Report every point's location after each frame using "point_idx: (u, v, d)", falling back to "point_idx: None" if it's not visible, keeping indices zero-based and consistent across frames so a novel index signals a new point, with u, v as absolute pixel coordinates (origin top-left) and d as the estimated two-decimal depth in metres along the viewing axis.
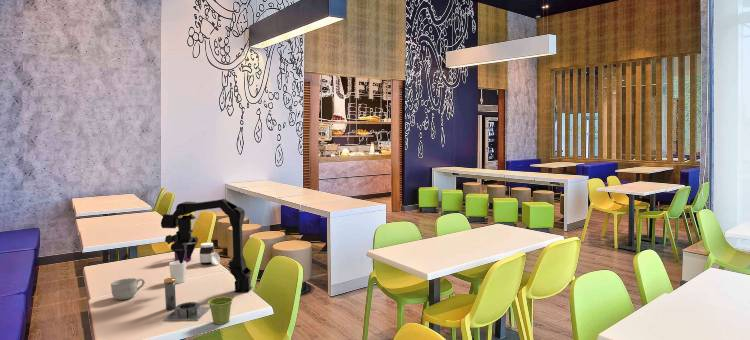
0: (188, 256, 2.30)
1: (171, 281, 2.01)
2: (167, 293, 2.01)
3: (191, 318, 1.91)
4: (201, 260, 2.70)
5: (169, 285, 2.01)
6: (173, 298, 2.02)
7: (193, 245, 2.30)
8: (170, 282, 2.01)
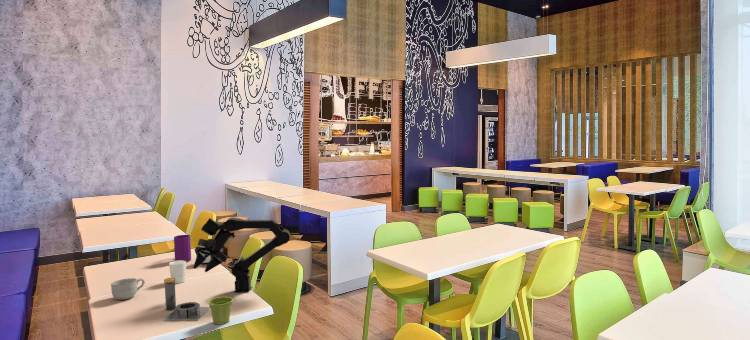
0: (195, 266, 2.17)
1: (171, 281, 2.01)
2: (167, 293, 2.01)
3: (191, 318, 1.91)
4: None
5: (169, 285, 2.01)
6: (173, 298, 2.02)
7: (205, 258, 2.22)
8: (170, 282, 2.01)
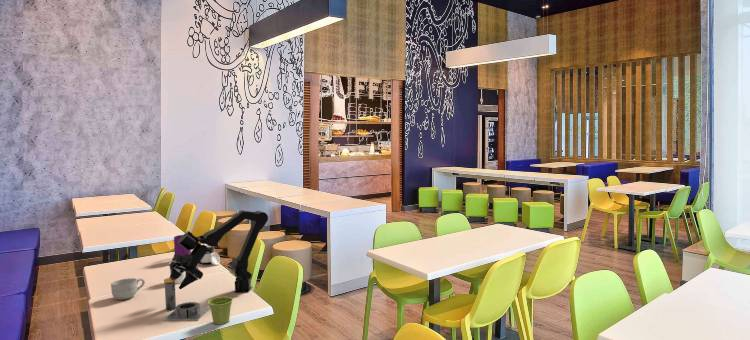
0: None
1: (171, 281, 2.01)
2: (167, 293, 2.01)
3: (191, 318, 1.91)
4: (201, 260, 2.70)
5: (169, 285, 2.01)
6: (173, 298, 2.02)
7: (180, 274, 2.12)
8: (170, 282, 2.01)
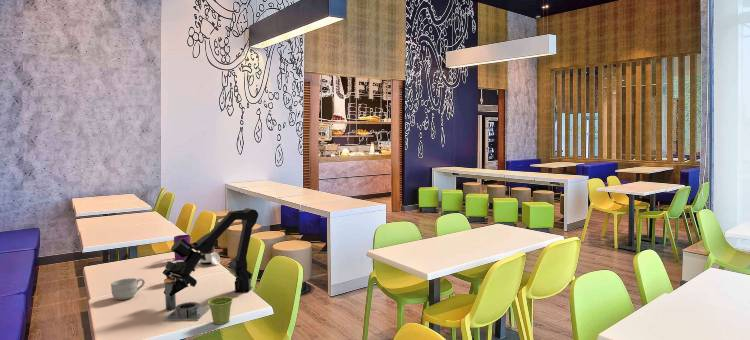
0: None
1: (171, 281, 2.01)
2: (167, 293, 2.01)
3: (191, 318, 1.91)
4: (201, 260, 2.70)
5: (169, 285, 2.01)
6: (173, 298, 2.02)
7: None
8: (170, 282, 2.01)
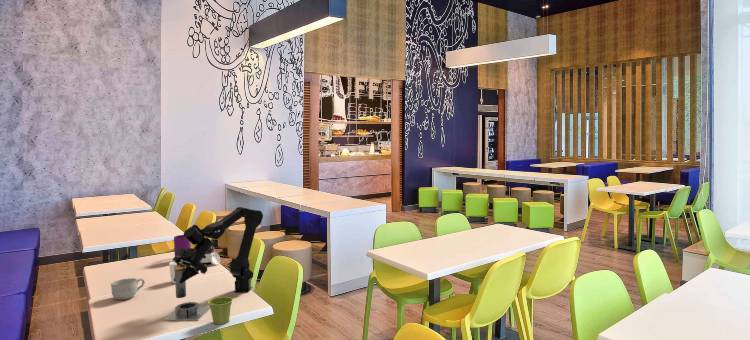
0: None
1: (181, 268, 1.96)
2: (177, 280, 1.96)
3: (191, 318, 1.91)
4: (201, 260, 2.70)
5: (179, 272, 1.96)
6: (183, 285, 1.97)
7: None
8: (180, 269, 1.96)
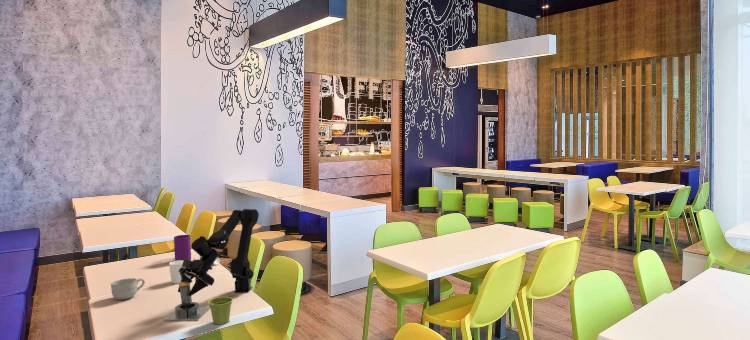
0: None
1: (186, 284, 1.94)
2: (183, 297, 1.94)
3: (191, 318, 1.91)
4: None
5: (184, 289, 1.94)
6: (189, 301, 1.95)
7: (190, 281, 2.02)
8: (185, 285, 1.94)
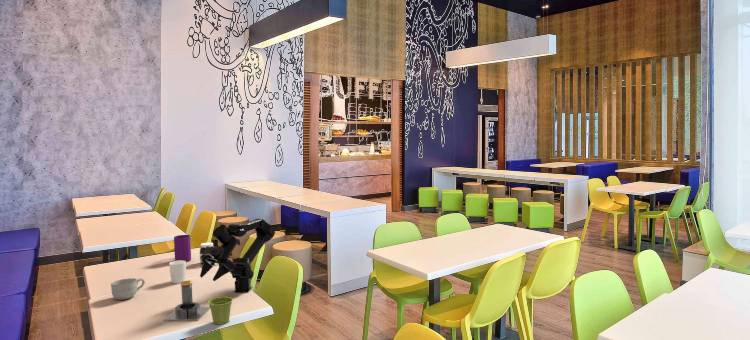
0: (202, 274, 2.10)
1: (188, 284, 1.95)
2: (184, 296, 1.95)
3: (191, 318, 1.91)
4: None
5: (186, 288, 1.94)
6: (190, 301, 1.96)
7: (211, 266, 2.15)
8: (187, 285, 1.94)
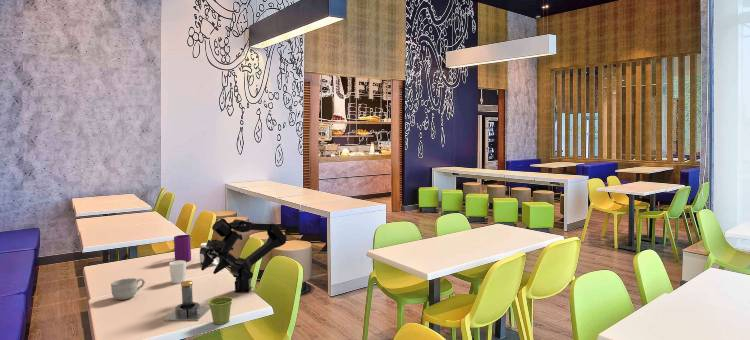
0: (203, 267, 2.14)
1: (188, 284, 1.94)
2: (184, 297, 1.94)
3: (191, 318, 1.91)
4: (201, 260, 2.70)
5: (186, 289, 1.94)
6: (190, 302, 1.96)
7: (212, 260, 2.18)
8: (187, 285, 1.94)
